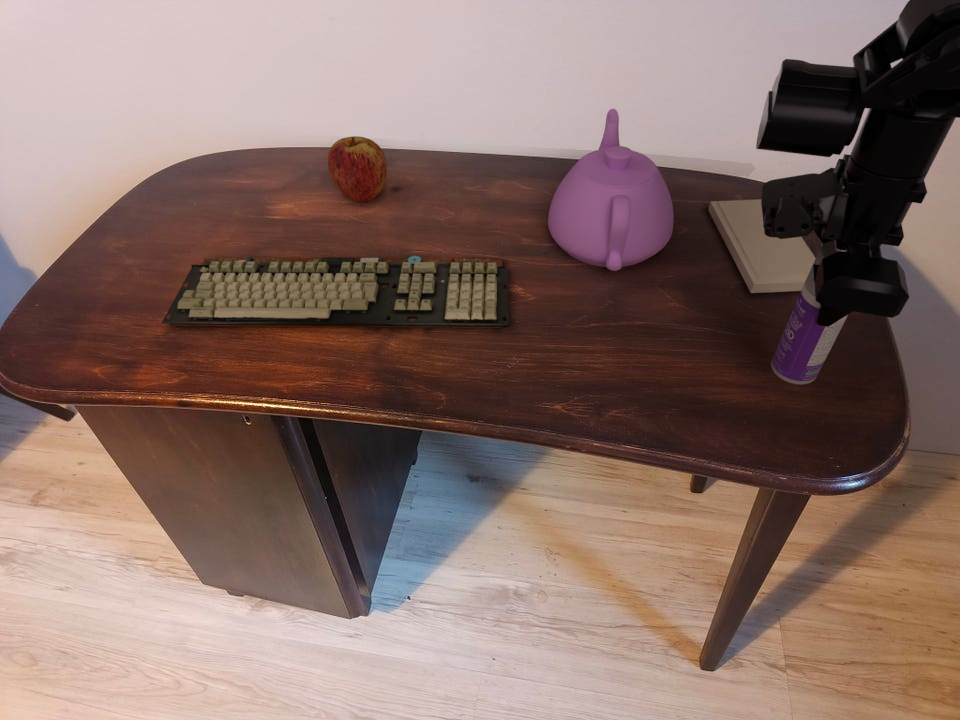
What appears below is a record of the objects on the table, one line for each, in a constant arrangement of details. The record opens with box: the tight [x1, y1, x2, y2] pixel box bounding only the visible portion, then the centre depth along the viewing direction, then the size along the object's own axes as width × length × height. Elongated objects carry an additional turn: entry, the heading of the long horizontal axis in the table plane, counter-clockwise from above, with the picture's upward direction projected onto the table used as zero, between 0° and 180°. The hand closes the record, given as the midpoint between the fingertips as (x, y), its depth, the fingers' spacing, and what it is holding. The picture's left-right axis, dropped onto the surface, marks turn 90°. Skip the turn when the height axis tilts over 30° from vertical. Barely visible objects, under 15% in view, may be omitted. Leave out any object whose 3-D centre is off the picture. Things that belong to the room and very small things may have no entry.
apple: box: [327, 135, 388, 203], centre depth 100 cm, size 9×9×10 cm
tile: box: [708, 198, 816, 294], centre depth 90 cm, size 20×10×2 cm, turn 2°
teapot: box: [547, 108, 675, 272], centre depth 90 cm, size 25×18×14 cm
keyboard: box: [161, 255, 511, 329], centre depth 86 cm, size 45×15×2 cm, turn 88°
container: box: [770, 241, 849, 385], centre depth 63 cm, size 5×5×15 cm
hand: (821, 308), depth 62 cm, fingers closed on container, 5 cm apart
